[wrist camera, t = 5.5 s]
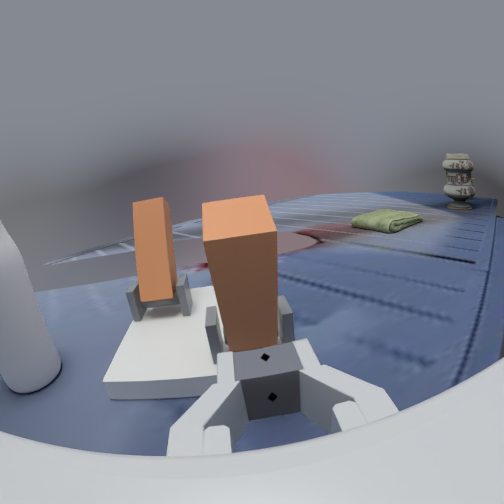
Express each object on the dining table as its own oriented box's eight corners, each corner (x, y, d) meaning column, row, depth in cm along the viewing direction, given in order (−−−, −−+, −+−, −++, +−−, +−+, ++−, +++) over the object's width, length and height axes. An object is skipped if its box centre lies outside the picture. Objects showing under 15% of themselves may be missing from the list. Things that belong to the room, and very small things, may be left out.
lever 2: (227, 359, 22) (197, 242, 14) (223, 323, 24) (197, 203, 17) (281, 351, 22) (283, 230, 14) (272, 315, 25) (268, 194, 17)
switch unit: (111, 399, 20) (86, 346, 18) (150, 308, 37) (140, 269, 36) (304, 380, 21) (301, 321, 20) (268, 291, 38) (264, 251, 37)
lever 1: (139, 308, 29) (130, 203, 31) (149, 308, 32) (140, 212, 34) (176, 304, 29) (165, 196, 31) (183, 303, 33) (172, 206, 34)
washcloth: (425, 222, 65) (425, 210, 65) (392, 236, 57) (391, 222, 56) (385, 217, 76) (385, 205, 76) (347, 229, 68) (346, 215, 67)
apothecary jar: (458, 203, 85) (457, 154, 80) (481, 208, 73) (480, 155, 68) (437, 205, 84) (434, 153, 79) (460, 211, 72) (458, 153, 67)
